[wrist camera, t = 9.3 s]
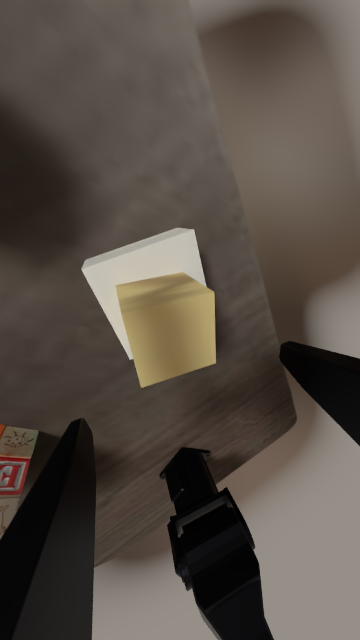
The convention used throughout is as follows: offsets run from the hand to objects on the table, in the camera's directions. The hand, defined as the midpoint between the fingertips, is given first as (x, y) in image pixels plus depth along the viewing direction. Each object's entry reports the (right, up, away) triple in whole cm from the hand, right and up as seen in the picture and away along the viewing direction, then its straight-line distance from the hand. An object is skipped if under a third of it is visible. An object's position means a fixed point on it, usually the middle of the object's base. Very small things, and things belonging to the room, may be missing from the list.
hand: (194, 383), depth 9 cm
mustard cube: (-3, +4, +7) cm, 8 cm away
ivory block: (-4, +6, +10) cm, 12 cm away
